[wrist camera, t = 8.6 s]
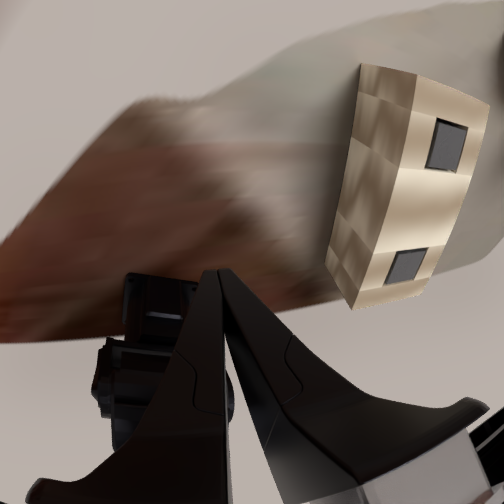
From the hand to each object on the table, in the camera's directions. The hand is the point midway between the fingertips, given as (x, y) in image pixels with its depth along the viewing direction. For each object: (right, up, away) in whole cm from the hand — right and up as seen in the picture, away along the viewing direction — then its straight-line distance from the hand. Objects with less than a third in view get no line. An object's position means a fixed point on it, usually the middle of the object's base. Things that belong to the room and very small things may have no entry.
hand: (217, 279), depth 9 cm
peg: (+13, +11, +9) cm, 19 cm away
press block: (+12, +7, +13) cm, 19 cm away
